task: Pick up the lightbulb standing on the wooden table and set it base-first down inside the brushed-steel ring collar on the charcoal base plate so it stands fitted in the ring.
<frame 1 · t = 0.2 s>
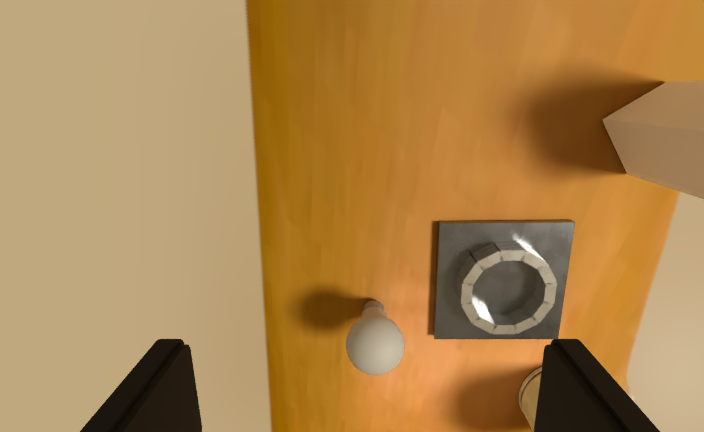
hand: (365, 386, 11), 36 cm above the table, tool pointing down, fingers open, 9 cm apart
milk carton: (644, 129, 44), on the table
lightbulb: (373, 305, 51), on the table
coffee can: (556, 392, 54), on the table
ring collar: (498, 279, 49), on the table
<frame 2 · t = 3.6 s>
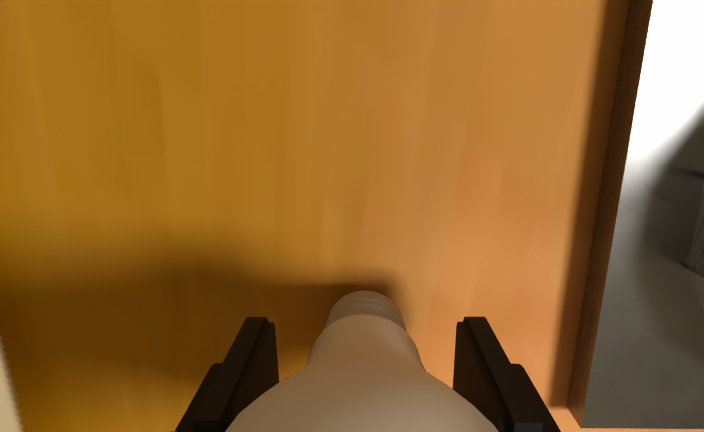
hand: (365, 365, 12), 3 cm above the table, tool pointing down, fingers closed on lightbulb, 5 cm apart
lightbulb: (365, 309, 15), on the table, touching gripper
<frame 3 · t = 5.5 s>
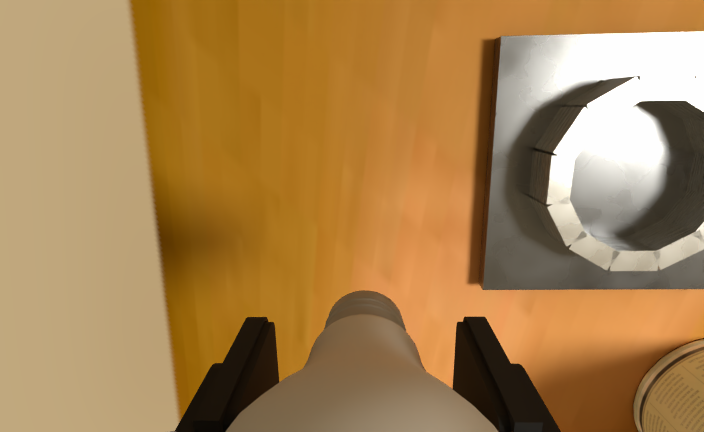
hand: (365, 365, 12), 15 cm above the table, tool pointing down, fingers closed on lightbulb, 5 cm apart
lightbulb: (365, 309, 15), point 12 cm above the table, touching gripper
coffee can: (703, 397, 29), on the table
ring collar: (610, 169, 25), on the table
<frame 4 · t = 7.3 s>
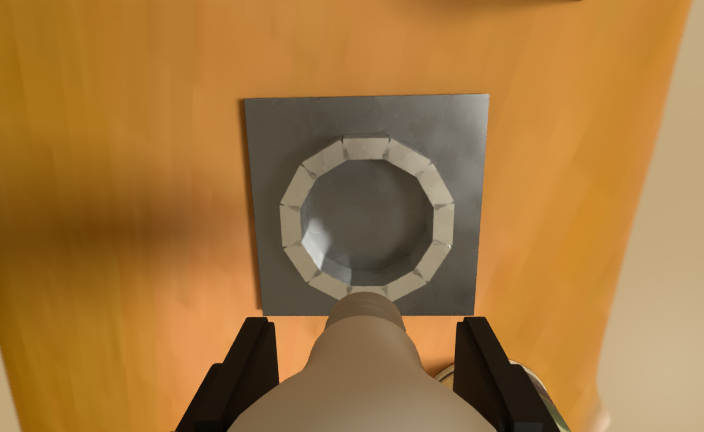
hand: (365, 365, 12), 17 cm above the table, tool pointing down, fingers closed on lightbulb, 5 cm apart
lightbulb: (365, 310, 15), point 14 cm above the table, touching gripper
coffee can: (481, 408, 33), on the table
ring collar: (366, 210, 28), on the table
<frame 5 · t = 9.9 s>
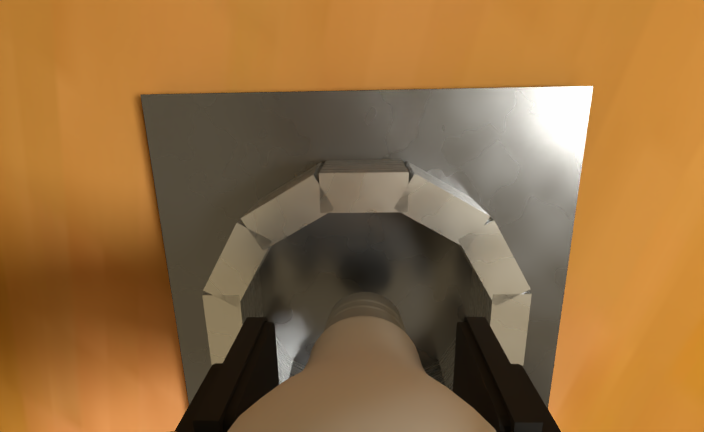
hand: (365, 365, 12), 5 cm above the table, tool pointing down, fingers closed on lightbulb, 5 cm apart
lightbulb: (365, 310, 15), point 2 cm above the table, touching gripper
ring collar: (364, 283, 17), on the table
when the fingers open (4 cm above the table, at t = 11.4 s): lightbulb stays where it is, resting on ring collar.
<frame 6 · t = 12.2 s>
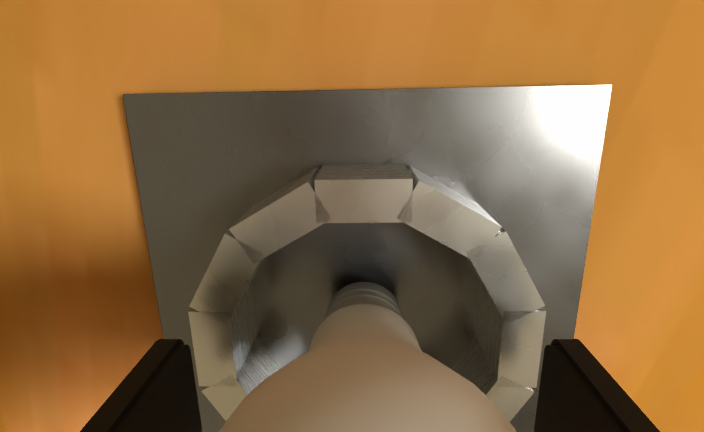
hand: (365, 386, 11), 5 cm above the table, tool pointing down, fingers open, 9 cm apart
lightbulb: (363, 301, 15), point 1 cm above the table, touching ring collar
ring collar: (364, 295, 16), on the table
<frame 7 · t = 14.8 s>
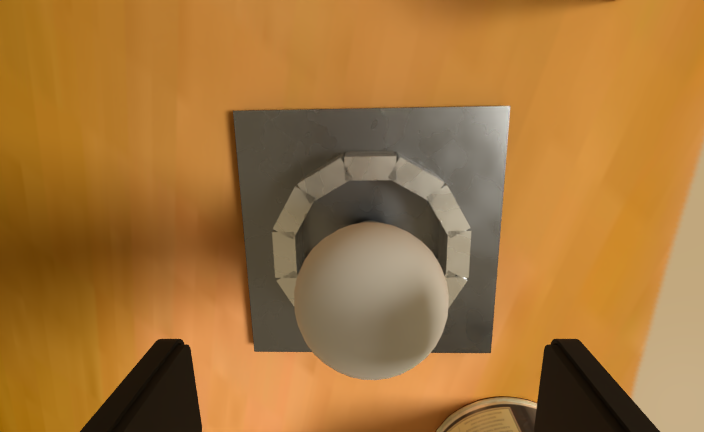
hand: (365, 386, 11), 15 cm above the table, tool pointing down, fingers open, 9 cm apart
lightbulb: (369, 235, 24), point 1 cm above the table, touching ring collar
ring collar: (370, 234, 25), on the table
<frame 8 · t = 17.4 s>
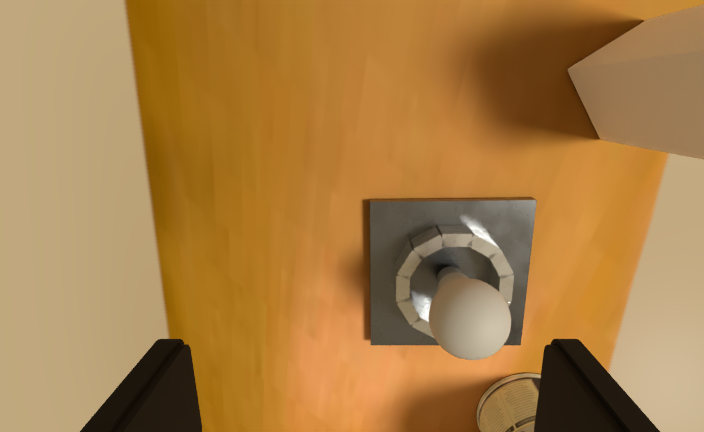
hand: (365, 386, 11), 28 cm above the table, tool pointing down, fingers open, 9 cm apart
milk carton: (620, 82, 35), on the table
lightbulb: (448, 274, 40), point 1 cm above the table, touching ring collar
coffee can: (522, 410, 45), on the table
ring collar: (446, 272, 40), on the table
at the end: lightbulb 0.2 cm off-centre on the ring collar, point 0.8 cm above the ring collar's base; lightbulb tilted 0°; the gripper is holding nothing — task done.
